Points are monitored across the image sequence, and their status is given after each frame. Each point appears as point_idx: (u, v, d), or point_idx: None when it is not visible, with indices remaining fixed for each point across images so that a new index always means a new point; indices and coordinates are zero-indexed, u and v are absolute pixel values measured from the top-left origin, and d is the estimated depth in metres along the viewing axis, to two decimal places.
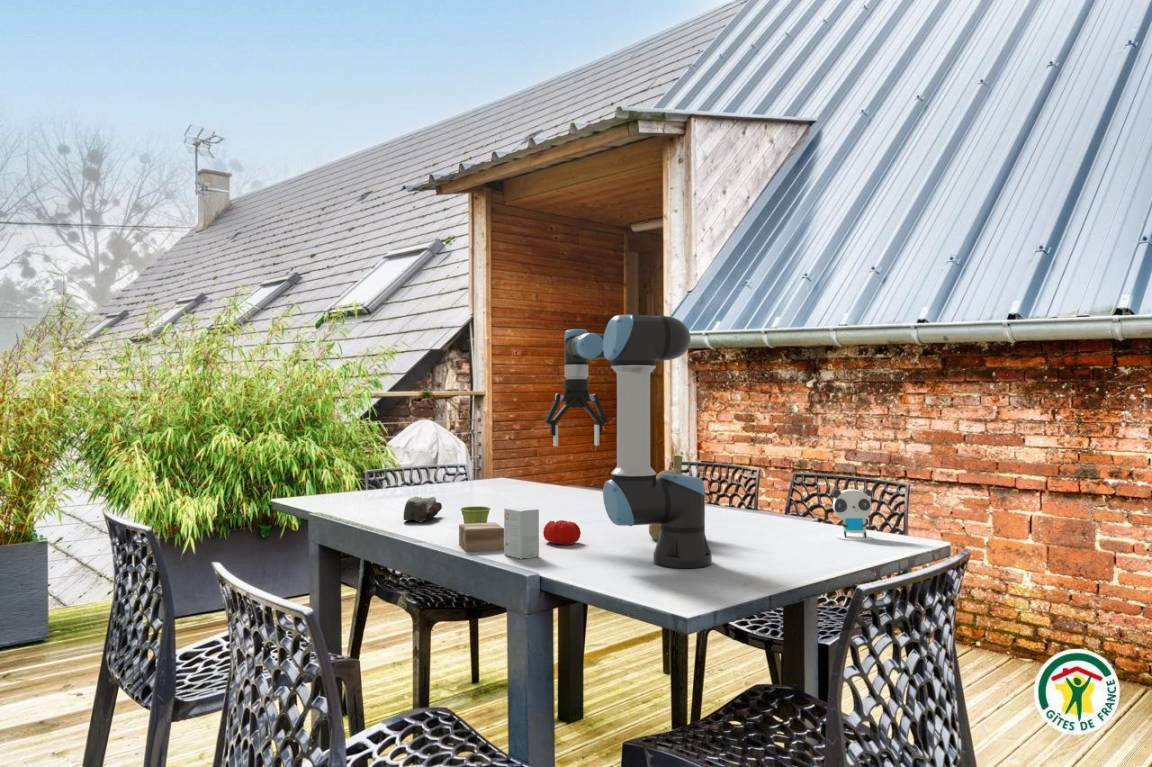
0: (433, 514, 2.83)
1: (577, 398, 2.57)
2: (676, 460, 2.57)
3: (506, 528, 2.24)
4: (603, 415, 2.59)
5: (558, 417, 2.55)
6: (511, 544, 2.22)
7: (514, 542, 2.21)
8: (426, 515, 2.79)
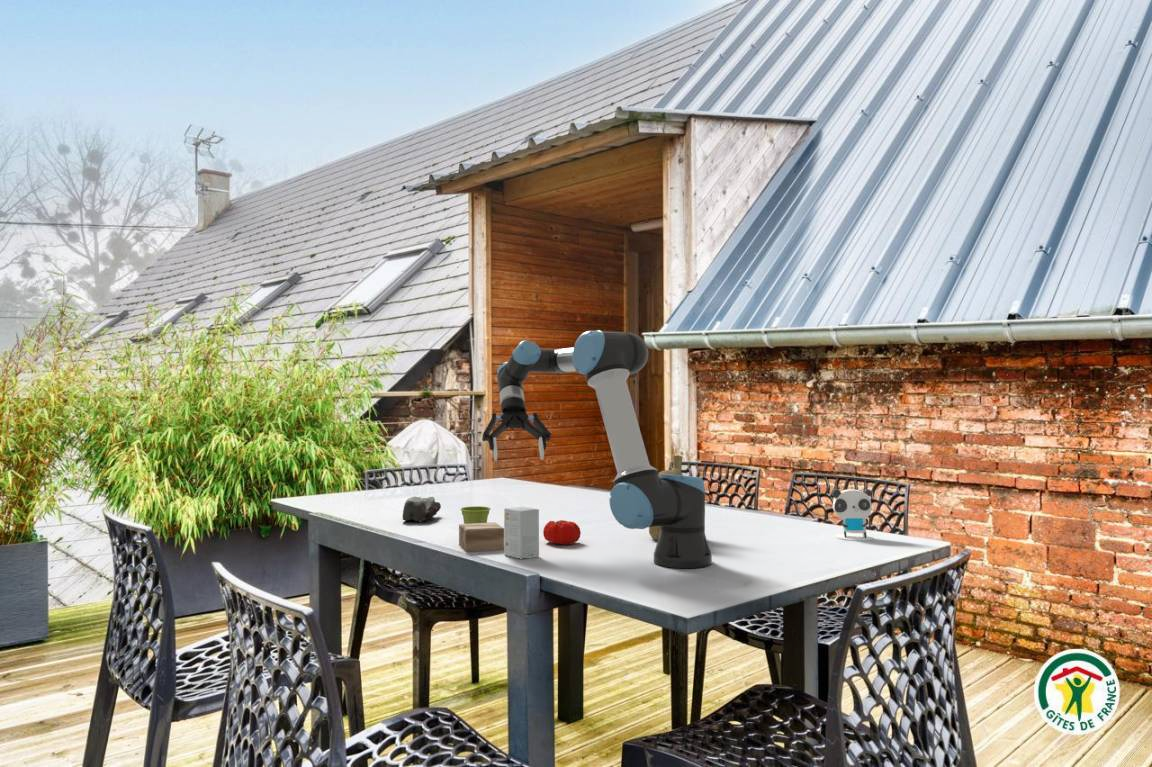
0: (432, 514, 2.83)
1: (514, 416, 2.46)
2: (676, 460, 2.57)
3: (506, 528, 2.24)
4: (545, 429, 2.44)
5: (495, 431, 2.40)
6: (511, 544, 2.22)
7: (514, 542, 2.21)
8: (425, 515, 2.79)
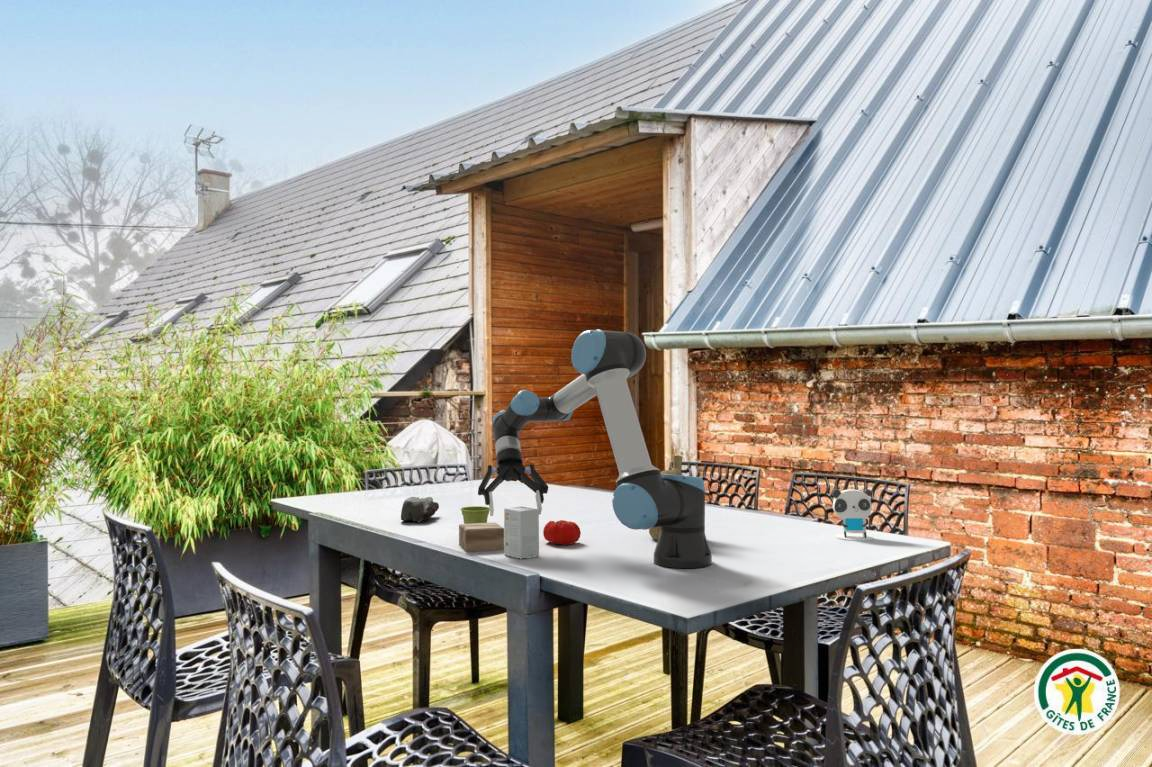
0: (430, 514, 2.83)
1: (511, 468, 2.39)
2: (676, 460, 2.57)
3: (506, 528, 2.24)
4: (542, 482, 2.37)
5: (491, 484, 2.33)
6: (511, 544, 2.22)
7: (514, 542, 2.21)
8: (423, 515, 2.79)
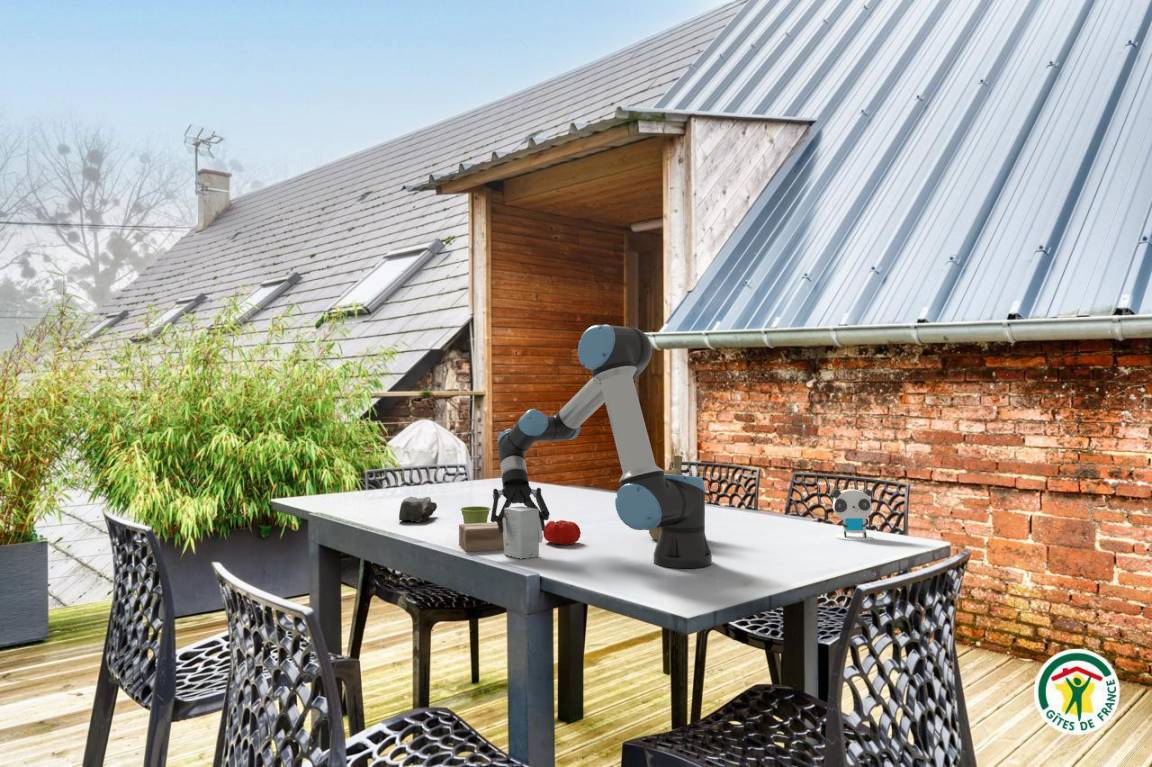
0: (429, 514, 2.83)
1: (517, 490, 2.31)
2: (676, 460, 2.57)
3: None
4: (545, 508, 2.28)
5: (503, 510, 2.25)
6: (511, 544, 2.22)
7: (514, 542, 2.21)
8: (422, 515, 2.79)
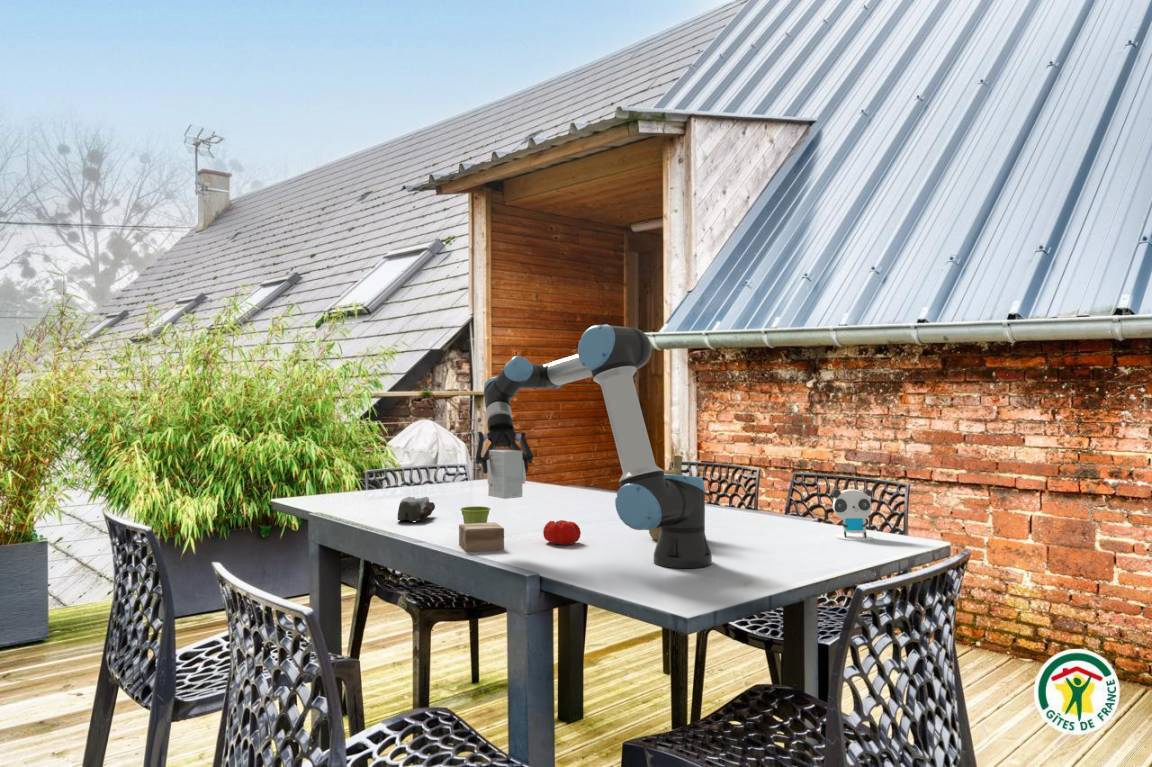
0: (427, 514, 2.83)
1: (502, 434, 2.36)
2: (676, 460, 2.57)
3: None
4: (528, 451, 2.33)
5: (487, 452, 2.30)
6: (495, 485, 2.27)
7: (497, 483, 2.26)
8: (420, 515, 2.79)
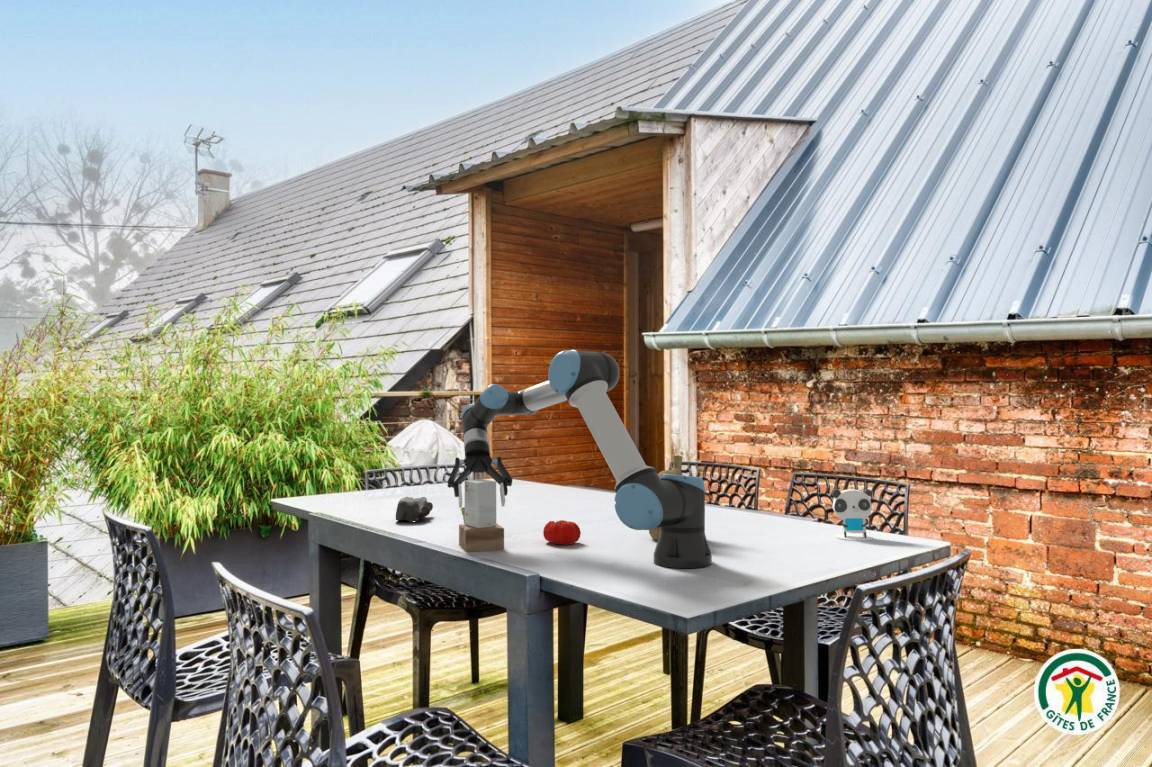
0: (425, 514, 2.83)
1: (478, 460, 2.44)
2: (676, 460, 2.57)
3: (466, 499, 2.37)
4: (507, 474, 2.42)
5: (460, 477, 2.38)
6: (470, 514, 2.35)
7: (472, 512, 2.34)
8: (419, 515, 2.79)
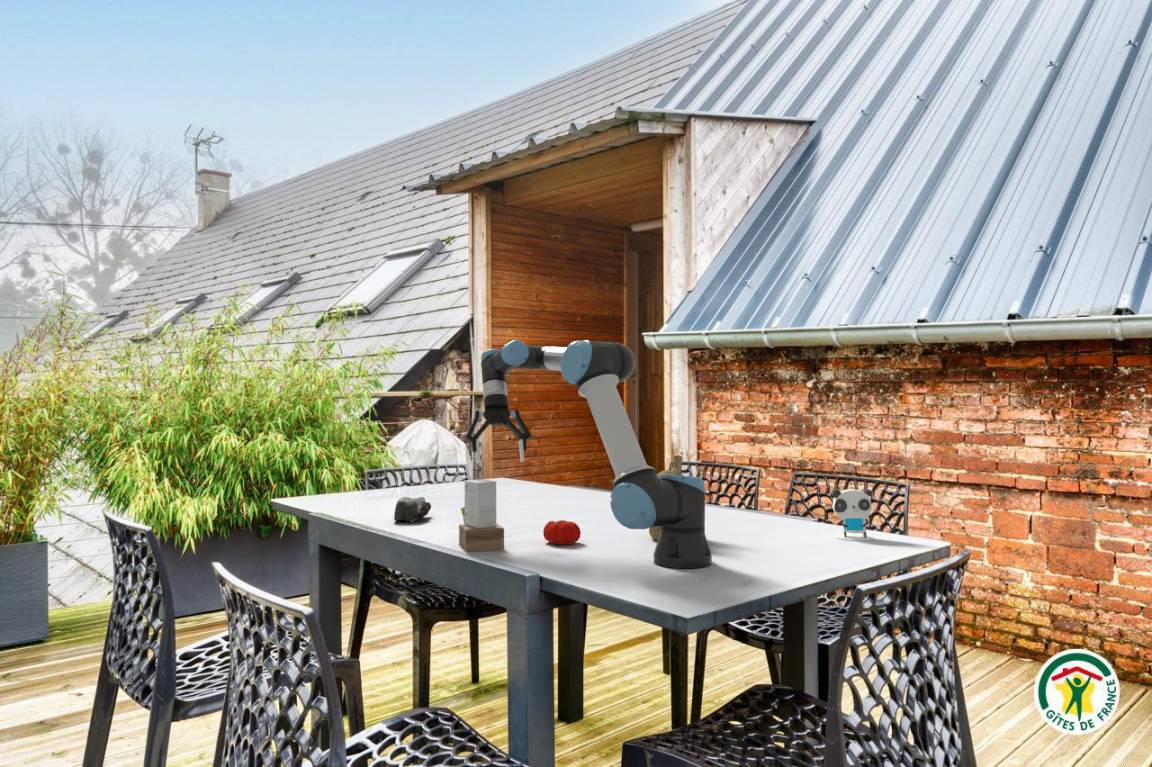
0: (424, 514, 2.83)
1: (497, 414, 2.54)
2: (676, 460, 2.57)
3: (466, 499, 2.37)
4: (526, 430, 2.54)
5: (478, 432, 2.50)
6: (470, 514, 2.35)
7: (472, 512, 2.34)
8: (417, 515, 2.79)
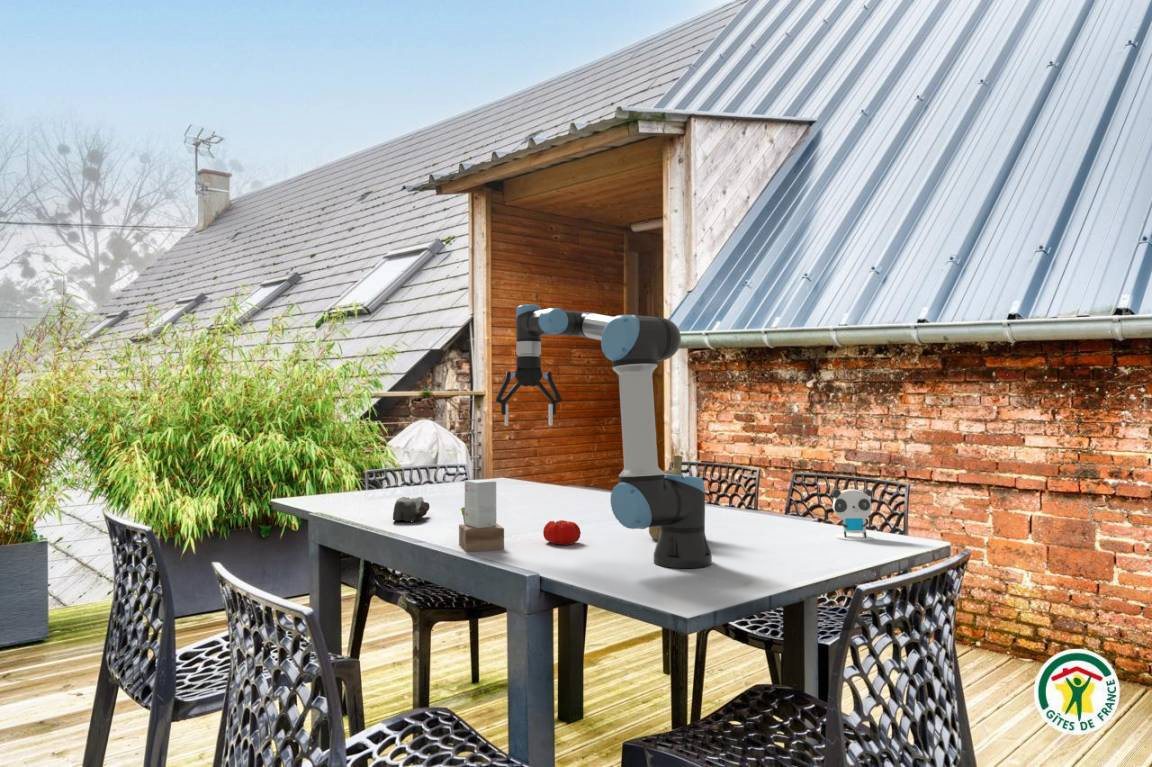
0: (422, 514, 2.83)
1: (529, 376, 2.48)
2: (676, 460, 2.57)
3: (466, 499, 2.37)
4: (557, 394, 2.50)
5: (508, 396, 2.46)
6: (470, 514, 2.35)
7: (472, 512, 2.34)
8: (416, 515, 2.79)
